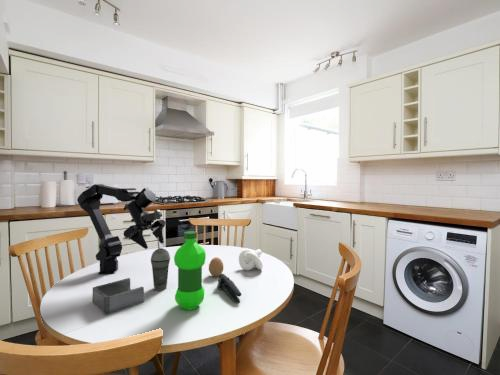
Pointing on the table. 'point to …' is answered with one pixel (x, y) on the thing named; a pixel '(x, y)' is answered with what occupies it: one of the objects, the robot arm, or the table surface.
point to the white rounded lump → (250, 259)
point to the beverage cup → (160, 267)
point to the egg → (216, 266)
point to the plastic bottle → (190, 272)
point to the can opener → (228, 287)
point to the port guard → (116, 296)
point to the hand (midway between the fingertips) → (155, 245)
